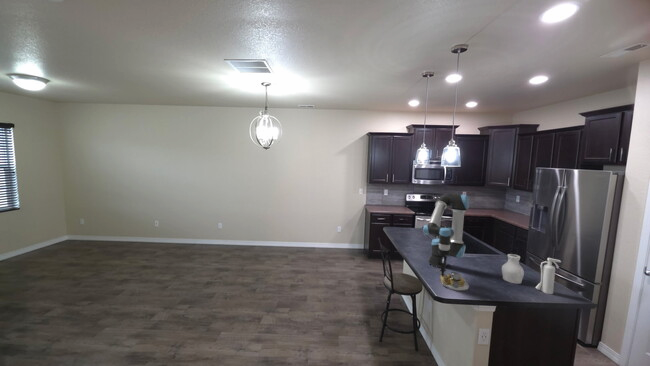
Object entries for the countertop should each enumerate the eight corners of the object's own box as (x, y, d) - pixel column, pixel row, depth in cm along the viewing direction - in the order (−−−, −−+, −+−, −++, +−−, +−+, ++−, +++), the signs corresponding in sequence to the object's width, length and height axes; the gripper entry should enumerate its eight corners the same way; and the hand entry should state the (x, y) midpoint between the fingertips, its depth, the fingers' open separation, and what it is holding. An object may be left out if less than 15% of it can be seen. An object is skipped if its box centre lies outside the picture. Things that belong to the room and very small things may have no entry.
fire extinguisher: (533, 287, 190) (537, 255, 187) (554, 291, 184) (559, 258, 182) (536, 291, 183) (540, 258, 181) (557, 296, 178) (563, 261, 176)
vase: (496, 277, 205) (498, 253, 204) (508, 275, 211) (509, 251, 209) (516, 285, 192) (518, 259, 190) (527, 282, 198) (529, 257, 196)
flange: (437, 284, 190) (438, 272, 190) (447, 277, 202) (448, 266, 202) (462, 294, 177) (463, 281, 176) (472, 286, 189) (473, 274, 188)
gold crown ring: (447, 287, 182) (447, 280, 181) (437, 279, 194) (437, 272, 194) (468, 286, 184) (468, 279, 184) (457, 278, 196) (457, 272, 196)
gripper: (439, 245, 197) (437, 275, 199) (437, 250, 186) (436, 281, 188) (450, 247, 194) (448, 277, 196) (449, 252, 182) (447, 284, 184)
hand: (442, 279), depth 192 cm, fingers closed
